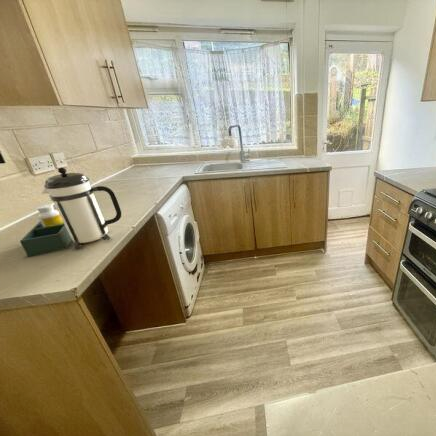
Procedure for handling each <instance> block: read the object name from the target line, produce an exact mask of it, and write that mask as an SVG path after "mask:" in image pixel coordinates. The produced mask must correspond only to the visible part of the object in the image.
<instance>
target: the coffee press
mask: <svg viewBox="0 0 436 436" xmlns="http://www.w3.org/2000/svg"><path fill="white" fill-rule="evenodd" d="M57 172H58V173H59V174H56V175H53V176H49V177H48V178H46V179H45V182H44V185H43V187H44V188H43V190H42V192H41V194H42V195H45V194H49V199H50V200H51V202H53V205H54V206H55V208H56V210H57V211H58V212H59V214H60V216H61V218H62V220H63V222H64V225H65V227H66V229H67V231H68V233H69V235H70V237H71V241H73V243H74V249H78V250H79V249H80V248H82V247H83V245H84V244H86V243H90V242H94V241H97V240H99V239H103V240H104V241H106V240H107V241H109V240H110V239H111V236H110V235H108V233H109V229H108V226H109V225H111V224H114V223H116V222H118V221H119V220H121V217H122V209H121V207H120V204H119V202H118V199H117V197H116V194H115V192H114V190H112V189H111V188H109V187H107V186H105V185H98V186H94V187H92V186H91V184H90V178H89V177H87V175H85V174H84V173H82V172H67V169H66V168H65V167H59V168H58V169H57ZM102 191H103V192H105V193H107V194H108V195H109V197H110V199H111V202H112V204H113V207H114V210H115V216H114V217H113V218H111V219H110V218H109V219H106V220H105V218H104V216H103V213H102V211H101V209H100V206H99V204H98V201H97V199H96V195H95V192H102Z"/></svg>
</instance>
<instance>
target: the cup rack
mask: <svg viewBox="0 0 436 436" xmlns="http://www.w3.org/2000/svg"><path fill="white" fill-rule="evenodd" d="M71 241H72V239H71V237H70V235H69V233H68V231H67V229H66V227H65V225H64V224H61V225H55V226H49V227H43V226H42V224H41V222H40V221H38V222H37V223H36V225H34V227H32V229H30V230H29V231H28V233H27V234H25V235H24V236H23V237H22V238H21V239H20V240H19V242H20V244H21V246H22V248H23V250H24V252H25V253H26V255H27V257H33V256H38V255H42V254H47V253H51V252H56V251H61V250H64V249H67V247H68V246H69V244H70V243H71Z"/></svg>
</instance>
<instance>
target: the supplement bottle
mask: <svg viewBox="0 0 436 436" xmlns="http://www.w3.org/2000/svg"><path fill="white" fill-rule="evenodd" d="M36 210H37V211H38V212H39V214H38V215H37V218H38V220H39V222H41V224H42V226H43V227H49V226H55V225H61V224H64V222H63V220H62V218H61V216H60V214H59V212H58V210H57V209H54V204H45V205H41V206H38V207H36Z"/></svg>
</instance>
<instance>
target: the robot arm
mask: <svg viewBox="0 0 436 436" xmlns="http://www.w3.org/2000/svg"><path fill="white" fill-rule="evenodd" d="M1 164H6V160H5V158H4V155H3V154H2V151H1V150H0V165H1Z"/></svg>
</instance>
